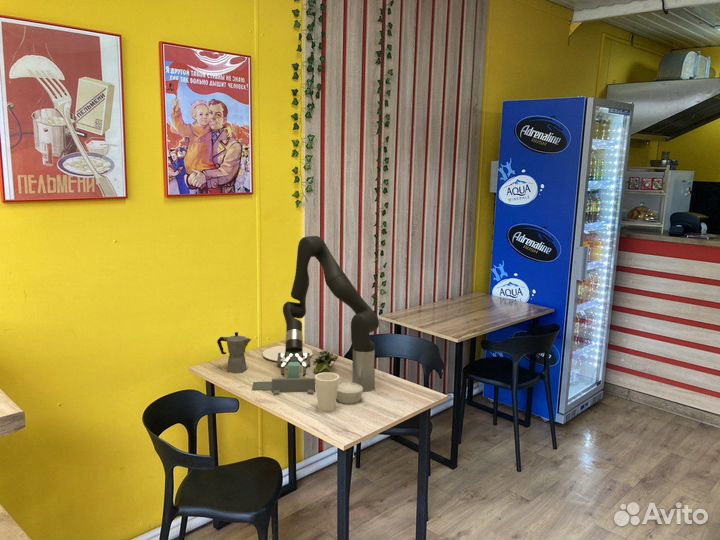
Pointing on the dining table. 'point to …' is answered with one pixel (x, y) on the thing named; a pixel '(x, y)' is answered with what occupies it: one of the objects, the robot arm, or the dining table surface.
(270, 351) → the plate
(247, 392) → the dining table surface
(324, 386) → the foam cup
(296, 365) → the block
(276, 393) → the screen
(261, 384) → the mat
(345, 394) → the ramekin
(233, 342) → the coffeepot
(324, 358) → the passion flower
